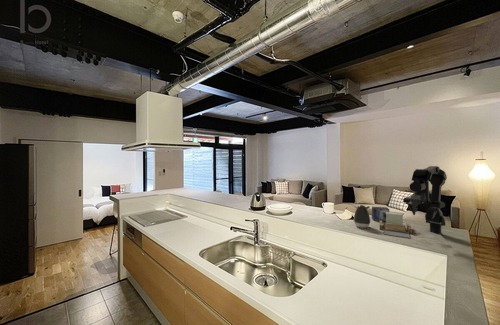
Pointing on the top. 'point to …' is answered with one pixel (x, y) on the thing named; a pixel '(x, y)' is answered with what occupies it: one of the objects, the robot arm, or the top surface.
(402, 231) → the walnut rack
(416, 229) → the top surface
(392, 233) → the grey mat
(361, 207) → the dark grey egg figure
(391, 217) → the pale green block
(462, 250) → the top surface
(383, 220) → the small box
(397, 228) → the offcut bundle
